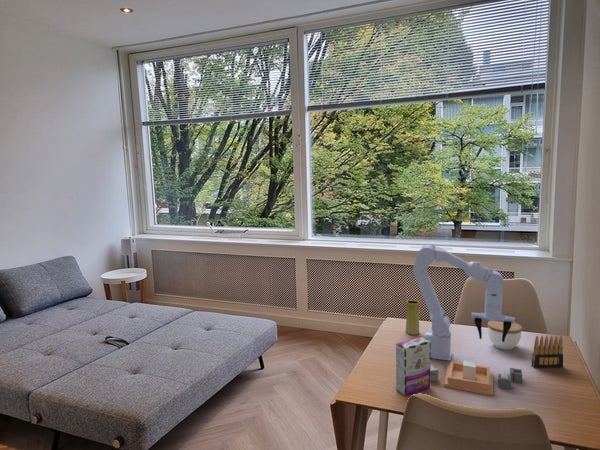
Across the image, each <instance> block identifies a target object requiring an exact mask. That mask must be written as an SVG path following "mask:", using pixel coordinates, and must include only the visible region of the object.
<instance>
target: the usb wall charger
mask: <svg viewBox="0 0 600 450" xmlns="http://www.w3.org/2000/svg"><path fill="white" fill-rule="evenodd" d="M435 381H436V382H437V381H439V370H438V369H437V368H436V367H435V366H433V365H432V364H431V363H430V383H431V382H435Z"/></svg>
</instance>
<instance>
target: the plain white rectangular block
mask: <svg viewBox="0 0 600 450" xmlns="http://www.w3.org/2000/svg"><path fill="white" fill-rule="evenodd" d="M462 363H463V379H468V380H474V381H475V374H476V365H477V362H474V361H468V360H463V362H462Z"/></svg>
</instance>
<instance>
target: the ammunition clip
mask: <svg viewBox="0 0 600 450" xmlns="http://www.w3.org/2000/svg"><path fill="white" fill-rule="evenodd" d="M563 341H564V340H563V336H562V335H560V336H559V338H558V335H555V336H553V335H550V336H549V337H548V335H546V336H545V337H544V336H543V335H541V336H540V339H539V336H538V335H536V336H535V340H534V345H533V352H532V355H531V356H532V359H531V367H533V368H534V369H543V368H544V369H545V368H546V369H552V368H557V369H558V368H560V369H561V368H563V367H564V354H563V353H564V352H563V350H564V345H563V344H564V343H563Z"/></svg>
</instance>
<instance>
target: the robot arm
mask: <svg viewBox="0 0 600 450" xmlns="http://www.w3.org/2000/svg"><path fill="white" fill-rule="evenodd" d="M434 261H435V263H441V262H445V263H447V264H450V265H452V266H454V267H456V268H458V269H461V270H462V271H464V272H465V275H466V276H468V277H469V278H471V279H474V280H476V281H477V282H480V283H481V284H485V286H486V288H485V289H486V290H485V293H484V294H485V296H484V312H471V320H474V324H475V326H476V328H477V331H478V336H479V339H480V340H482V335H483V333H482V325H483V323H482V320H483V321H488V322H489V321H498V322H503V335H502V342H504V341H505V337H506V335H507V333H508V331H509V329H510V328H511V324H515V323H516V321H515V320H516V318H515V316H514V317H513V316H508V315H503V314H502V313H503V312H502V308H503V287H504V278H503V275H502V274H501V272H499V271H498V270H494V269H493V268H489V267H486V266H484V265H482V264H481V262H479V261H474V260H473V261H470V262H468V261H466V260H464V259H463V258H460V257H458V255H455V254H453V253H451V252H449V251H447V250H446V249H444V248H442V247H439V246H435V245H434V244H432V243H427V244H424V245H422V247H421V248H420V249H419V251H418V252H417V254H416V255H415V260H414V263H413V268H412V271H413V275H414V277H415V280H416V282H417V285H418V287H419V289H420V291H421V295H422V297H423V300H424V301H425V302H424V303H425V304H426V307H427V309H428V312H429V317H430V322H431V331H427V332H425V333H426V334H425V339H426V340H429V341H431V348H430V359H435V360H443V361H449V362H451V361H452V355H453V351H451V341H452V332H451V331H450V326H451V324H452V323H451V322H452V321H451V318H450V317H449V316H448V315H447V314H446V312H445V310H444V308H443V306H442V305H441V303H440V300H439V297H438V296H437V293H436V290H435V288H434V285H433V283H432V280H431V278H430V275H429V273H428V268H429V267H430V265H431V264H432V263H433V262H434Z"/></svg>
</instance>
